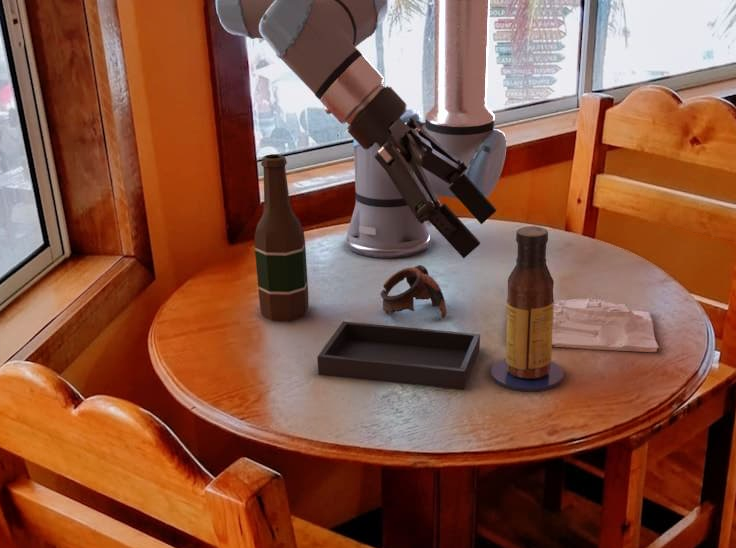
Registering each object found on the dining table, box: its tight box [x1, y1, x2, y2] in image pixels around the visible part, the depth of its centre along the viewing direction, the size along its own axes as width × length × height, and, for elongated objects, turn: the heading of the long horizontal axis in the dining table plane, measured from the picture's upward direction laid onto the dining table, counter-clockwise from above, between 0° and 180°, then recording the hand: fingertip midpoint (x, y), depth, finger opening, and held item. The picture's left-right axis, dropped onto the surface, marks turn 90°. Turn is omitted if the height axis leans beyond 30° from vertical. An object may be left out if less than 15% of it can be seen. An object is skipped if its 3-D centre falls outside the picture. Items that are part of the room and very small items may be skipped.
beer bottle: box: [254, 153, 309, 322], centre depth 148 cm, size 8×8×24 cm
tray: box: [316, 320, 481, 391], centre depth 139 cm, size 13×21×3 cm, turn 77°
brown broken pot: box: [380, 264, 448, 319], centre depth 154 cm, size 12×10×8 cm
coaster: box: [490, 358, 564, 393], centre depth 136 cm, size 10×10×1 cm
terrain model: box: [552, 297, 661, 353], centre depth 148 cm, size 17×23×5 cm
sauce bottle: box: [505, 225, 555, 379], centre depth 130 cm, size 6×6×20 cm
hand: (481, 233), depth 127 cm, fingers open, 13 cm apart
